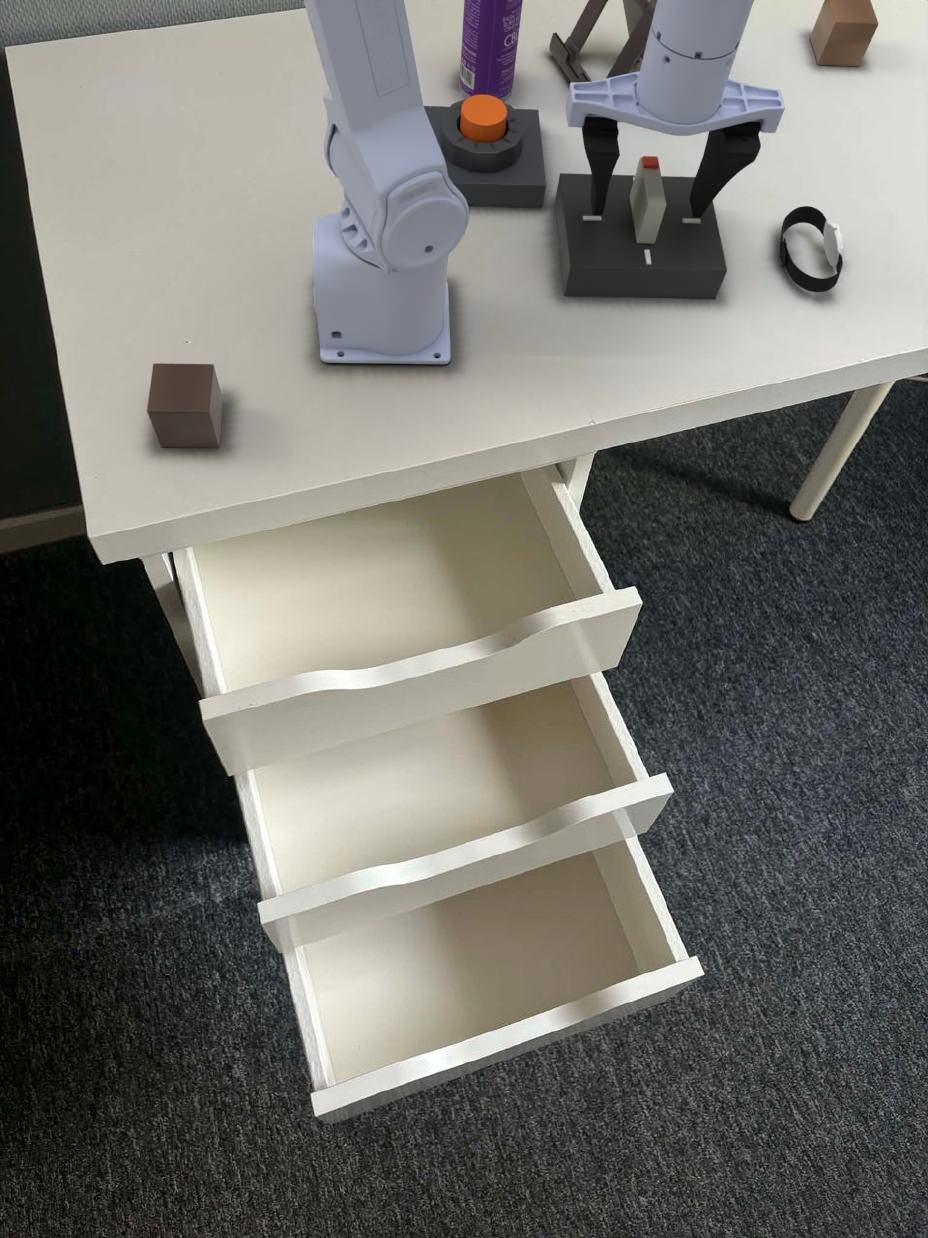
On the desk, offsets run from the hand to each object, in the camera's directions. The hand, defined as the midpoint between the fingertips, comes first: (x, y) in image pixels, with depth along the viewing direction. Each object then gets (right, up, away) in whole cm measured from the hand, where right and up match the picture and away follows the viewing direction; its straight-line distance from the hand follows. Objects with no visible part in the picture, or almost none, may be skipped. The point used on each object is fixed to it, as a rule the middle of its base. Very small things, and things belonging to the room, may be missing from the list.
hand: (646, 206), depth 72 cm
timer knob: (0, -1, +1) cm, 1 cm away
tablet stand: (-1, +17, +13) cm, 21 cm away
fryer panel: (0, -2, +4) cm, 4 cm away
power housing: (-13, +6, +7) cm, 16 cm away
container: (-12, +15, +11) cm, 22 cm away
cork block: (+21, +22, +16) cm, 34 cm away
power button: (-12, +8, +4) cm, 15 cm away
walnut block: (-33, -18, -6) cm, 38 cm away
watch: (+14, -3, +5) cm, 15 cm away
